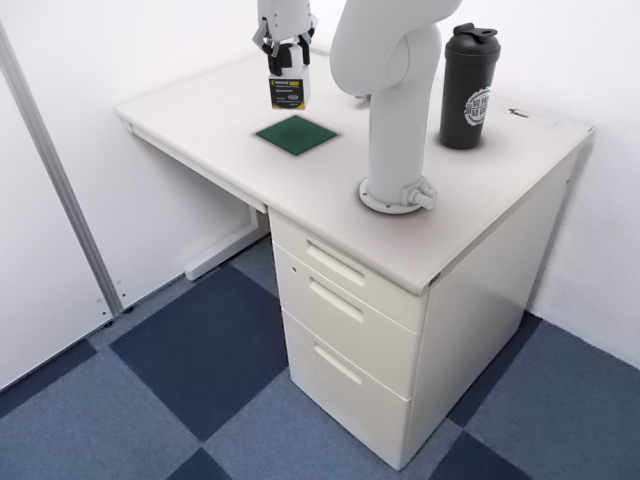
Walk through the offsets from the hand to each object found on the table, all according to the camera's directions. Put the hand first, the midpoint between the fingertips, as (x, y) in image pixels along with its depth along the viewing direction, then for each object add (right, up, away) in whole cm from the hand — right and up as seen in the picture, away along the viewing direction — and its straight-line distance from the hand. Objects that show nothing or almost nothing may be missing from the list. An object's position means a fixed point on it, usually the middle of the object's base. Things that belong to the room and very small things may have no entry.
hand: (290, 68), depth 101 cm
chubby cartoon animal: (+19, -1, +21) cm, 29 cm away
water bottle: (+36, -14, +5) cm, 39 cm away
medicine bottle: (0, -6, +5) cm, 8 cm away
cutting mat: (+1, -12, +10) cm, 15 cm away
